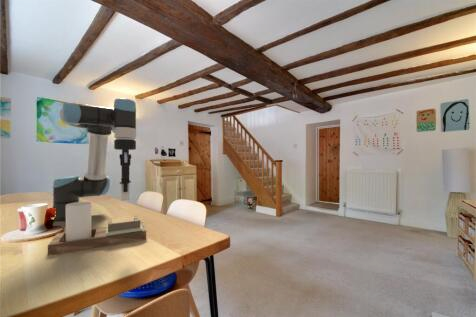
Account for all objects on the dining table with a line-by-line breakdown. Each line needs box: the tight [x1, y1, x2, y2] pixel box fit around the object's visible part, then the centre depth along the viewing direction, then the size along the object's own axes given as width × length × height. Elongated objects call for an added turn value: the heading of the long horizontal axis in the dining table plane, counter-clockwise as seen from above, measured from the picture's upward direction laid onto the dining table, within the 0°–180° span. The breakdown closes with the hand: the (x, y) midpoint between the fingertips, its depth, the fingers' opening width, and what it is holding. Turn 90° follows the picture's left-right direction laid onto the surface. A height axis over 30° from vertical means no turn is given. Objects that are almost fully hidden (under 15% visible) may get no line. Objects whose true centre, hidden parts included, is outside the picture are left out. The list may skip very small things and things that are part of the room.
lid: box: [106, 219, 142, 236], centre depth 94 cm, size 13×13×4 cm
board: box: [47, 215, 147, 256], centre depth 96 cm, size 27×32×4 cm
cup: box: [65, 201, 92, 241], centre depth 86 cm, size 8×8×16 cm
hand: (125, 200), depth 85 cm, fingers closed
